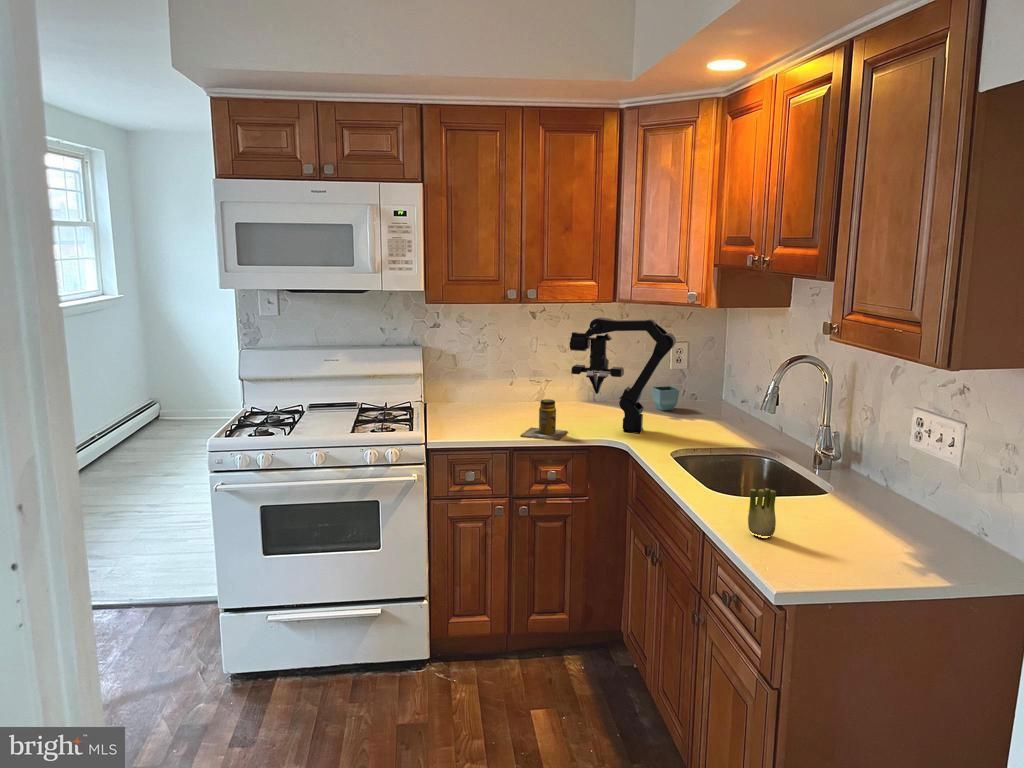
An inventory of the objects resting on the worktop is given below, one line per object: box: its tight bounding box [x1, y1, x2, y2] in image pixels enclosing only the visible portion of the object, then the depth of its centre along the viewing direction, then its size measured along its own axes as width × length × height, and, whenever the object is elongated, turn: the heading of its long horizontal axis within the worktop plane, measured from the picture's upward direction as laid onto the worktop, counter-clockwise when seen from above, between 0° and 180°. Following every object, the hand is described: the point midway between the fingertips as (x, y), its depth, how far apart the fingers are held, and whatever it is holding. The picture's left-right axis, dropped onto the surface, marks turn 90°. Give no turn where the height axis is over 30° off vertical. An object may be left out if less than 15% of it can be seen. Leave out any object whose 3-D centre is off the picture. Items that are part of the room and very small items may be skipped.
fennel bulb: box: [747, 487, 777, 537], centre depth 185 cm, size 6×5×12 cm
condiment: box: [531, 398, 560, 436], centre depth 279 cm, size 7×8×12 cm
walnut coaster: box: [519, 427, 568, 441], centre depth 281 cm, size 14×12×1 cm
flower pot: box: [651, 385, 680, 411], centre depth 322 cm, size 9×9×9 cm
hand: (596, 393), depth 289 cm, fingers closed
